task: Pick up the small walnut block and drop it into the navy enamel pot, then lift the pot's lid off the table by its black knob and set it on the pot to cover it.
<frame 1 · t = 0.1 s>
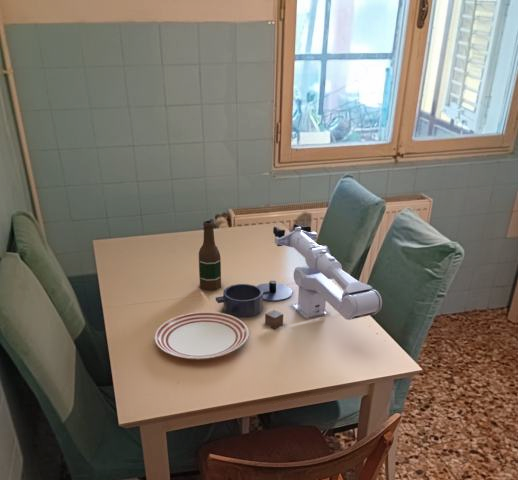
hand: (284, 228, 190), 22 cm above the table, tool horizontal, fingers open, 7 cm apart
pot: (243, 310, 186), on the table
block: (273, 325, 177), on the table
dinner plate: (202, 342, 168), on the table
beer bottle: (210, 288, 200), on the table
lid: (272, 292, 196), point 1 cm above the table
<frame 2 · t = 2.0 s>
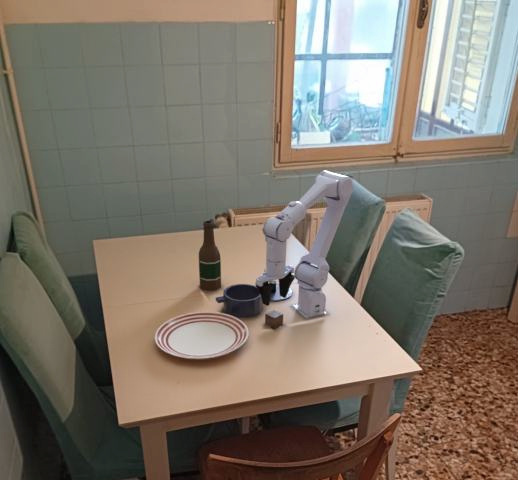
hand: (274, 300, 173), 9 cm above the table, tool pointing down, fingers open, 7 cm apart
nothing on the table moved.
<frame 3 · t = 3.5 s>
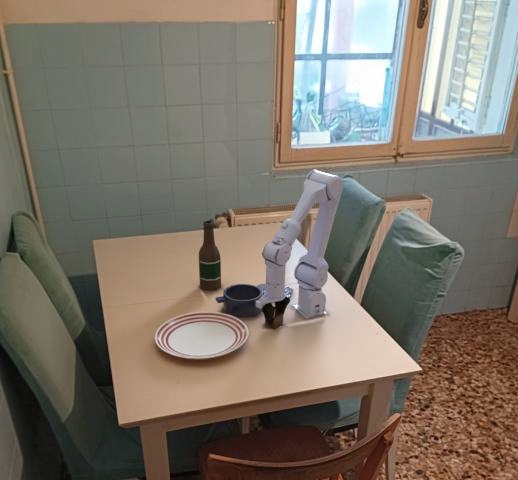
hand: (274, 321, 177), 1 cm above the table, tool pointing down, fingers closed on block, 4 cm apart
block: (273, 325, 177), on the table, touching gripper
everything else where it was.
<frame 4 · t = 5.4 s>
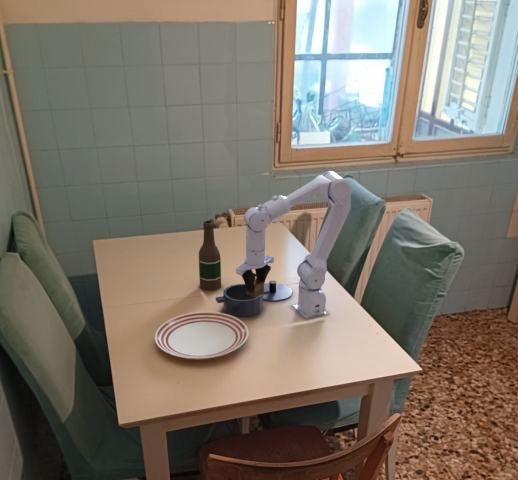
hand: (255, 289, 177), 9 cm above the table, tool pointing down, fingers closed on block, 4 cm apart
block: (254, 293, 178), point 8 cm above the table, touching gripper
everything else where it was.
when the fingers open (5 cm above the table, at t = 7.6 s): block drops 3 cm, resting on pot.
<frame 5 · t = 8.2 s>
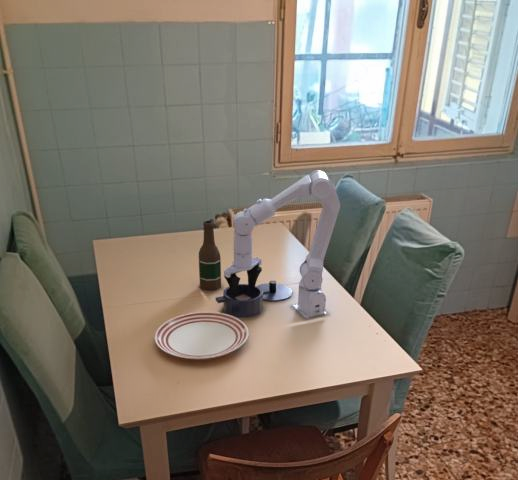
hand: (243, 291, 182), 7 cm above the table, tool pointing down, fingers open, 7 cm apart
block: (243, 308, 185), point 1 cm above the table, touching pot
everything else where it was.
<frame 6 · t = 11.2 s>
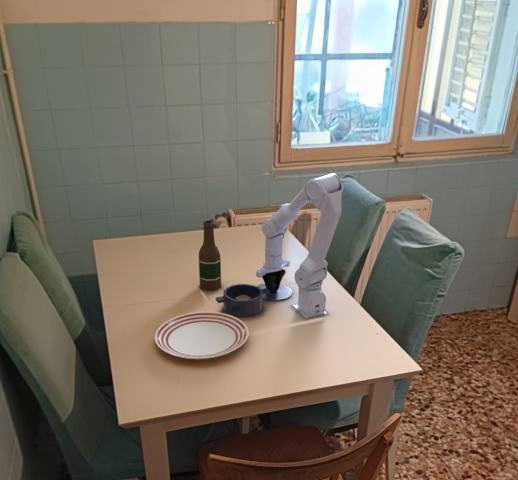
hand: (272, 290, 195), 1 cm above the table, tool pointing down, fingers closed on lid, 2 cm apart
lid: (272, 292, 196), point 1 cm above the table, touching gripper
everything else where it was.
when the fingers open (7 cm above the table, at t = 14.5 s): lid stays where it is, resting on pot.
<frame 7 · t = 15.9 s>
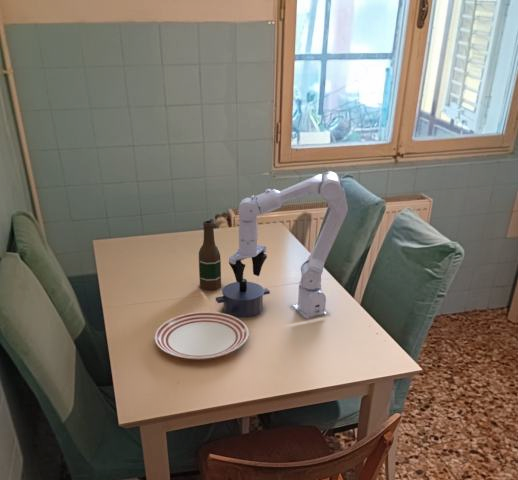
hand: (248, 278, 182), 10 cm above the table, tool pointing down, fingers open, 7 cm apart
lid: (243, 291, 182), point 7 cm above the table, touching gripper, pot
everything else where it was.
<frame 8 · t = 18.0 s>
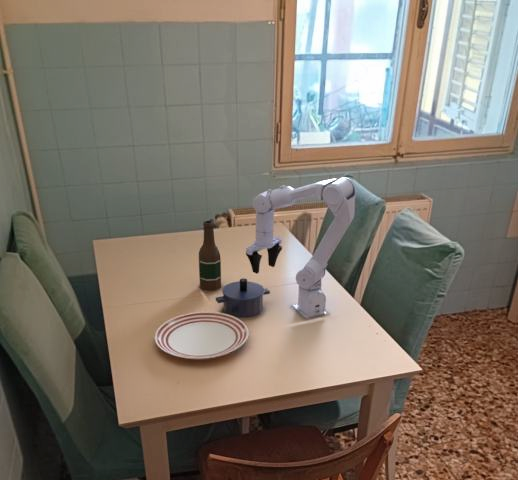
hand: (263, 269, 188), 10 cm above the table, tool pointing down, fingers open, 7 cm apart
lid: (243, 291, 183), point 6 cm above the table, touching pot
everything else where it was.
at the end: block inside the target area in the pot (0.0 cm from its centre), point 0.5 cm above the pot's base; lid 0.6 cm off-centre on the pot, point 6.5 cm above the pot's base; lid tilted 0° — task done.
